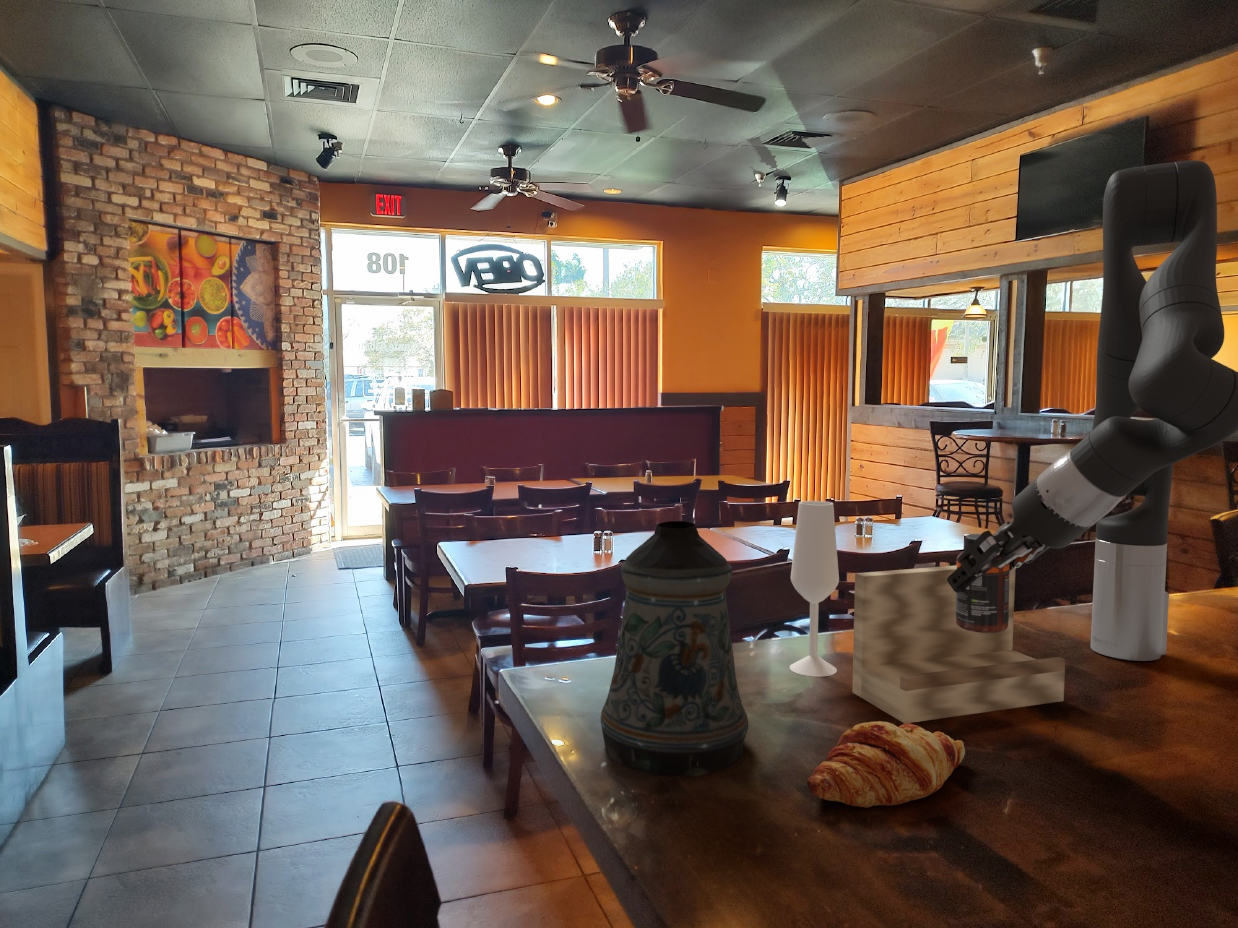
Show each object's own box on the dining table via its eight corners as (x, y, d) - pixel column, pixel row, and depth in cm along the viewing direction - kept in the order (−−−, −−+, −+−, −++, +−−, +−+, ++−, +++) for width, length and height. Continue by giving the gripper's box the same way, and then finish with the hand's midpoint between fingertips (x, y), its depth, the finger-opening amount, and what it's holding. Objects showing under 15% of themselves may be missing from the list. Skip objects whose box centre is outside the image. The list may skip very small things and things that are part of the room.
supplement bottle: (998, 620, 105) (1001, 531, 104) (1015, 635, 99) (1018, 541, 98) (949, 620, 106) (951, 531, 104) (963, 634, 100) (965, 540, 98)
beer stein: (623, 787, 84) (622, 542, 82) (580, 715, 103) (579, 514, 101) (773, 767, 89) (776, 534, 87) (706, 702, 107) (707, 509, 105)
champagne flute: (837, 663, 123) (840, 500, 121) (837, 678, 116) (840, 507, 114) (790, 659, 124) (792, 499, 122) (788, 674, 118) (790, 505, 116)
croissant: (936, 782, 93) (912, 709, 95) (1011, 773, 85) (982, 693, 87) (791, 829, 82) (768, 745, 85) (861, 823, 74) (833, 731, 77)
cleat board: (1000, 673, 118) (1004, 561, 117) (1063, 700, 108) (1068, 578, 106) (852, 692, 111) (855, 573, 109) (904, 723, 100) (908, 592, 99)
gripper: (1081, 467, 98) (986, 550, 109) (1007, 476, 90) (913, 565, 101) (1126, 517, 94) (1023, 598, 105) (1053, 532, 86) (950, 618, 97)
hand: (969, 581), depth 103 cm, fingers closed on supplement bottle, 6 cm apart
